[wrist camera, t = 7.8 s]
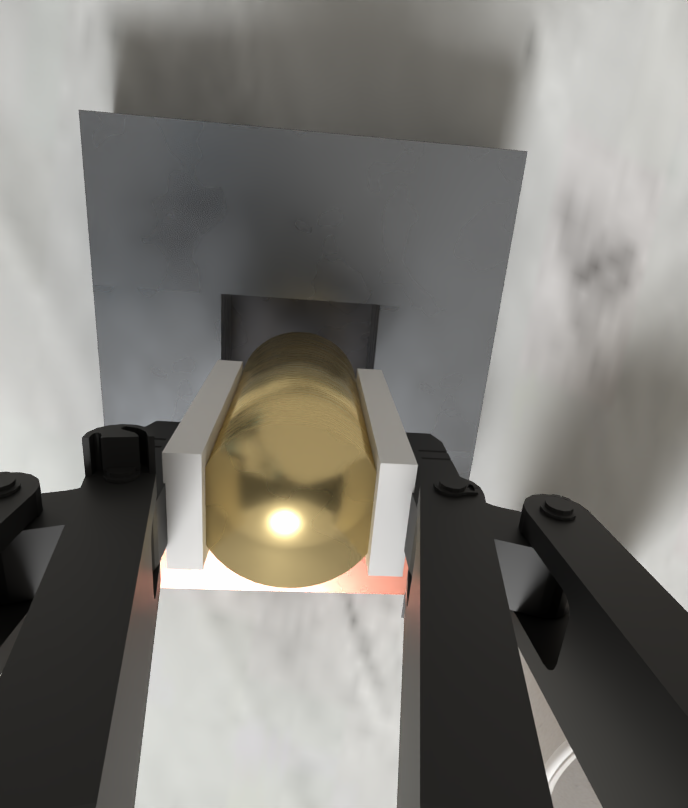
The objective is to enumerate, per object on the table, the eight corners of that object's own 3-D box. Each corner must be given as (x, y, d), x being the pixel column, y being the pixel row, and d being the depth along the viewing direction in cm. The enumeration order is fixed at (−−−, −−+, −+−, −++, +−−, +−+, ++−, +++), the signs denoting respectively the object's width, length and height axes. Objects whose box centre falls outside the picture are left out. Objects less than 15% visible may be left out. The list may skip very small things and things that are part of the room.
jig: (112, 122, 19) (48, 98, 15) (498, 157, 20) (552, 146, 16) (136, 513, 25) (96, 586, 20) (438, 524, 26) (466, 596, 21)
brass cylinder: (241, 438, 20) (197, 587, 12) (240, 329, 18) (190, 419, 11) (352, 442, 20) (377, 589, 12) (359, 334, 19) (392, 426, 11)
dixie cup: (516, 683, 30) (607, 903, 21) (430, 588, 27) (489, 791, 18) (652, 603, 28) (817, 802, 19) (574, 494, 26) (721, 663, 17)
